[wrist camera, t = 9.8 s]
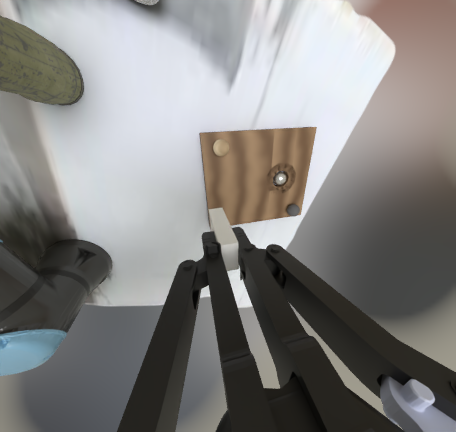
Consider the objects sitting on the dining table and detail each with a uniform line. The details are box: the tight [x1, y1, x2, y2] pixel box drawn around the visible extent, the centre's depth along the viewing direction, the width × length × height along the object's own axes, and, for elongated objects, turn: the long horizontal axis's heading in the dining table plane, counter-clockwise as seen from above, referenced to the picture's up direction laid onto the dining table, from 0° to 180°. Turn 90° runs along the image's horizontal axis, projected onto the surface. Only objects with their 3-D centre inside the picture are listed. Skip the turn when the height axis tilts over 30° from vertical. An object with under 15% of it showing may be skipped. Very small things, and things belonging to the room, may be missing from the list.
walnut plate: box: [200, 127, 317, 228], centre depth 45 cm, size 28×24×2 cm
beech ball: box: [213, 139, 229, 156], centre depth 37 cm, size 4×4×4 cm
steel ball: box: [273, 172, 286, 185], centre depth 46 cm, size 4×4×4 cm
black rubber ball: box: [287, 204, 300, 216], centre depth 49 cm, size 4×4×4 cm
